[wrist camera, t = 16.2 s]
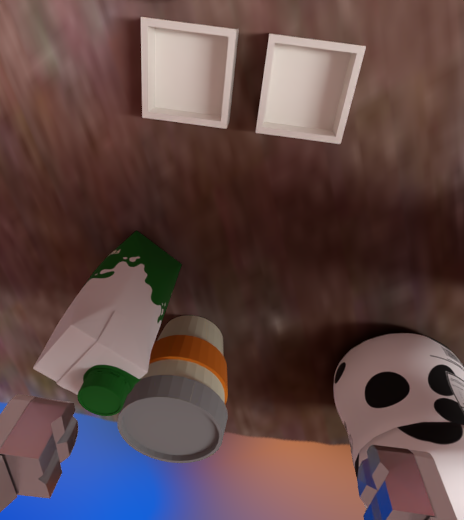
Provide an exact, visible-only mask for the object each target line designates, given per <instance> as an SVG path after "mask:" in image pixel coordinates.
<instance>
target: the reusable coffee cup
mask: <svg viewBox="0 0 464 520" xmlns="http://www.w3.org/2000/svg"><path fill="white" fill-rule="evenodd" d="M227 397H228V387H227V365H226V361H225V358H224V356H223V337H222V334H221V332H220V330H219V329H218V328H217V326H216V325H215V324H213V323H212V322H211V321H209V320H207V319H205V318H202V317H199V316H193V315H185V316H179V317H176V318H174V319H172V320H170V321H169V322H168V323H167V324H166V326H165V327H164V329H163V331H162V333H161V334H160V336H159V338H158V340H157V341H156V342H155V343H154V345H153V347H152V350H151V355H150V361H149V368H148V372H147V373H146V374H145V375H144V376H143V377H141V380H140V381H139V382H138V383H136V384H135V386H134V387H133V389H132V391H131V392H130V393H129V394H128V395H127V398H126V400H125V403H124V405H123V408H122V409H121V411H120V413H119V417H118V429H119V432H120V434H121V436H122V437H123V439H124V440H125V441H126V442H127V443H128V444H129V445H130V446H131V447H133V448H134V449H135V450H137V451H138V452H140V453H142V454H144V455H146V456H149V457H151V458H154V459H158V460H161V461H166V462H174V463H188V462H195V461H200V460H202V459H205V458H207V457H209V456H211V455H213V454H214V453H215V452H216V451H217V450H218V449H219V447H220V446H221V444H222V440H223V435H224V431H225V426H226V422H227V418H228V415H227V409H226V406H225V404H226V402H227Z"/></svg>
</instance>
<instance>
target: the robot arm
mask: <svg viewBox="0 0 464 520" xmlns="http://www.w3.org/2000/svg"><path fill="white" fill-rule="evenodd" d="M74 412H75V406H74V403H73V402H66V401H59V400H52V399H46V398H39V397H34V396H27V395H20V394H17V395H16V396H14V397H13V398H12V399H11V400H10V401H9V403H8V404H7V406H6V407H5V408H4V410H3V411H2V413H1V414H0V512H1V511H2V510H3V509H4V508H6V507H7V506H8V505H9V504H10V503H11V502H12V501H13V500H14V499H15V498H16V497H17V495H25V496H34V497H42V498H50V497H51V495H52V493H53V491H54V489H55V486H56V484H57V482H58V480H59V478H60V476H61V474H62V470H61V465H60V463H61V462H62V461H64V460H65V459H66V458H68V457H69V456H70V454H71V452H72V450H73V447H74V445H75V442H76V438H77V434H78V422H77V420H76V419H75V418H74V417H73V414H74ZM367 456H368V458H367V459H365V460H363V461H362V462H361V464H360V466H359V468H358V477H357V481H358V490H359V496H360V498H361V500H362V501H363V502H364V504H365V505H366V506H367V509H366V511H365V514H364V516H363V517H364V520H457V517H456V515H455V512H454V510H453V507H452V505H451V502H450V499H449V497H448V494H447V492H446V489H445V487H444V484H443V481H442V479H441V476H440V474H439V471H438V469H437V466H436V463H435V461H434V458H433V457H432V455H431V454H430V453H428V452H423V451H415V450H408V449H404V448H396V447H388V446H379V445H371V446H369V448H368V450H367Z"/></svg>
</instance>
